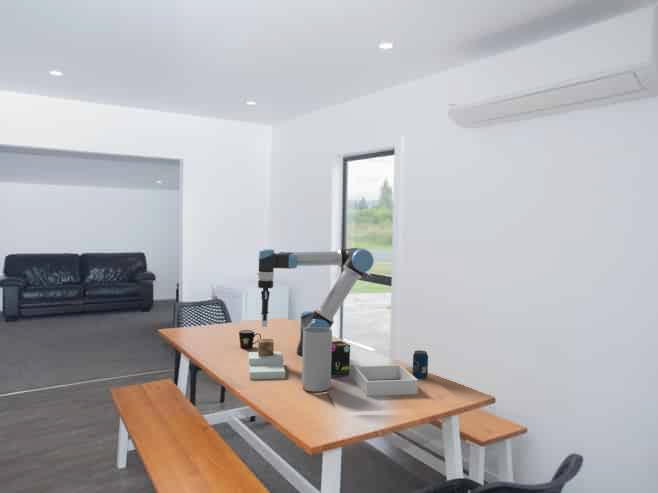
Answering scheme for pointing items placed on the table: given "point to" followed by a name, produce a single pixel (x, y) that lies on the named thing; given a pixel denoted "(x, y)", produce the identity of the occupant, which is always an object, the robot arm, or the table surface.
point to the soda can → (420, 364)
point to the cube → (265, 347)
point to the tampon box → (340, 359)
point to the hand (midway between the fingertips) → (264, 326)
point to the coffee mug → (247, 338)
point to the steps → (266, 366)
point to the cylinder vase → (316, 359)
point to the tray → (386, 387)
